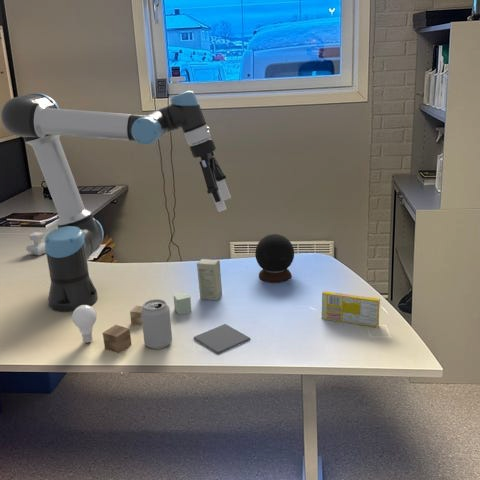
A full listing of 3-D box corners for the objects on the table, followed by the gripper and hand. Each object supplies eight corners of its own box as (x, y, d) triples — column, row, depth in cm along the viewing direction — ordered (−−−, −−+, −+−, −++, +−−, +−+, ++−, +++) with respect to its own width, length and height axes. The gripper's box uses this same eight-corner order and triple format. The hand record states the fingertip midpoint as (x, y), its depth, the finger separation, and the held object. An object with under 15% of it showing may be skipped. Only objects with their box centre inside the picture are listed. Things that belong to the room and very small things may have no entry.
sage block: (174, 309, 171) (173, 294, 170) (187, 306, 173) (185, 292, 171) (178, 315, 168) (177, 299, 166) (191, 312, 169) (190, 297, 168)
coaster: (193, 338, 154) (193, 336, 154) (225, 325, 160) (225, 323, 160) (217, 354, 146) (217, 352, 146) (250, 339, 152) (250, 337, 152)
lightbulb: (78, 337, 157) (73, 301, 153) (101, 335, 157) (96, 300, 154) (74, 348, 151) (68, 312, 147) (98, 347, 151) (93, 310, 148)
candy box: (379, 325, 158) (380, 298, 155) (377, 328, 156) (379, 301, 153) (323, 316, 164) (323, 290, 161) (321, 319, 162) (321, 293, 159)
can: (167, 351, 148) (163, 310, 144) (140, 349, 149) (136, 309, 145) (175, 337, 155) (172, 298, 151) (150, 335, 156) (146, 296, 152)
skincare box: (222, 295, 180) (220, 259, 176) (217, 300, 176) (215, 264, 172) (204, 293, 182) (201, 258, 178) (198, 298, 178) (196, 262, 174)
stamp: (41, 249, 229) (38, 229, 226) (53, 251, 226) (50, 231, 223) (24, 256, 221) (21, 236, 218) (37, 258, 218) (33, 238, 215)
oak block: (131, 323, 164) (129, 311, 162) (137, 317, 167) (136, 305, 166) (143, 325, 163) (142, 312, 161) (149, 319, 166) (148, 306, 165)
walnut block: (104, 349, 151) (102, 332, 149) (117, 340, 155) (115, 324, 153) (118, 353, 148) (116, 336, 146) (131, 345, 152) (129, 328, 150)
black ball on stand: (302, 276, 191) (302, 235, 186) (272, 287, 184) (272, 244, 179) (277, 266, 201) (276, 226, 196) (248, 275, 194) (246, 234, 189)
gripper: (205, 144, 160) (232, 212, 166) (216, 131, 183) (239, 191, 189) (181, 153, 161) (208, 219, 167) (195, 139, 185) (218, 198, 191)
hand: (225, 204), depth 178 cm, fingers open, 13 cm apart
